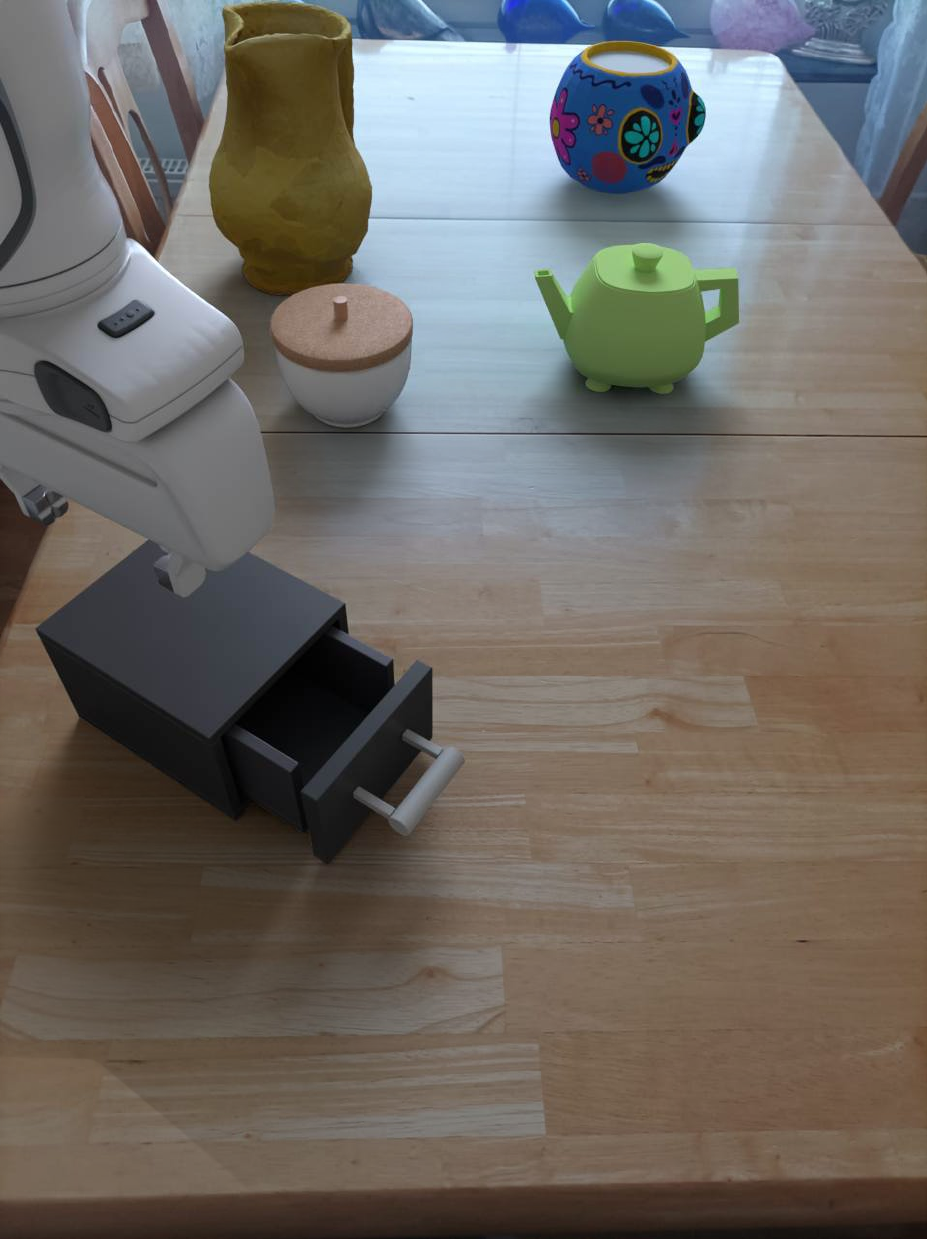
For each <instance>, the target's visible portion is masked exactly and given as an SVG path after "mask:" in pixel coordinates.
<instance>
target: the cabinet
mask: <svg viewBox="0 0 927 1239" xmlns="http://www.w3.org/2000/svg"><path fill="white" fill-rule="evenodd" d="M165 555H168V553H167V552H165V551H163V550H162V549H161V548H160V545H159V544H157V543H155V542H153V541H151V540H149V539H146V541H144V542H143V543H142V544H141V545H139V546H138V547H137V548H136V549H134V550H133V551H132V552H131V553H129V554H128V555H127V556H125V557H124V558H123V559H122V560H120V561H119V562H117V564H115V565H114V566H112V568H110V569H109V570H108V571H106V572H105V573H104V574H102V575H101V576H100V577H99V578H97V579H96V580H94V582H92V583H91V584H90V585H88V587H86V588H85V589H83V590H82V591H81V592H80V593H78V594H77V595H76V596H75V597H73V598H72V599H70V600H69V601H68V602H67V603H65V604H64V605H63V606H62V607H60V608H59V609H58V610H57V611H55V612H54V613H53V614H51V615H50V616H48V618H46V619H45V620H44V621H42V622H41V623H40V624H39V625H37V626H36V627H35V629H34V630H35V632H36V634H37V635H38V637H39V639H40V641H41V644H42V645H43V647H44V650H45V652H46V653H47V656H48V658H49V659H50V662H51V663H52V664H51V665H53V667H54V669H55V672H56V673H57V675H58V677H59V680H60V682H61V684H62V686H63V688H64V689H65V692H66V693H67V696H68V698H69V700H70V702H71V704H72V706H73V708H74V709H75V712H76V715H77V716H78V718H79V719H81V720H83V721H84V722H86V723H87V724H89V725H90V726H91V727H93V728H95V729H96V730H97V731H99V732H101V733H102V734H104V735H105V736H107V737H108V738H110V739H111V740H112V741H114V742H116V744H119V745H120V746H121V747H123V748H125V749H126V750H128V751H129V752H131V753H132V754H134V756H135V755H136V756H137V757H138V758H139V759H142V760H143V761H144V762H146V763H147V764H149V765H150V766H152V767H154V768H155V769H156V770H158V771H159V772H161V773H162V774H163V775H165V776H166V777H168V778H170V779H171V780H173V781H174V782H176V783H178V784H179V785H180V786H182V787H184V788H185V789H186V790H188V791H189V792H191V793H192V794H194V795H195V796H197V797H198V798H200V799H201V800H203V801H204V802H206V803H207V804H209V805H210V806H212V807H214V808H215V809H216V810H218V811H219V812H221V813H222V814H224V815H226V816H227V817H228V818H230V819H232V820H233V821H234V822H237V821H238V820H239V819H240V818H241V817H242V815H243V814H245V812H246V811H247V810H248V809H249V808H250V807H251V806H252V805H253V804H254V802H253V801H252V800H250V799H249V798H247V797H246V796H244V795H243V794H241V793H239V792H238V791H237V789H236V786H235V783H234V779H233V776H232V773H231V770H230V766H229V763H228V760H227V757H226V753H225V750H224V747H223V744H222V740H221V738H220V737H221V736H222V735H223V734H224V733H225V732H226V731H227V730H228V729H229V728H230V727H231V726H232V725H233V724H234V723H235V722H236V721H237V720H238V719H239V718H240V717H241V716H242V715H243V714H244V713H245V712H246V711H247V710H248V709H249V708H250V707H251V706H252V705H253V704H254V703H255V702H256V701H257V700H258V699H259V698H260V697H261V696H262V695H263V694H264V693H265V692H266V691H267V690H268V689H269V688H270V687H271V686H272V685H273V684H274V683H275V682H276V681H277V680H278V679H279V678H280V677H281V676H282V675H283V674H284V673H285V672H286V671H287V670H288V669H289V668H290V667H291V666H292V665H293V664H294V663H295V662H296V661H297V660H298V659H299V658H300V657H301V656H302V655H303V654H304V653H305V652H306V651H307V650H308V649H309V648H310V647H311V646H312V645H313V644H314V643H315V642H316V641H317V640H318V639H319V638H320V637H321V636H322V635H323V634H324V633H325V632H326V631H327V630H328V629H329V628H330V627H331V626H333V627H335V628H337V629H339V630H341V631H343V632H344V633H346V634H348V635H350V632H349V623H348V614H347V605H346V603H345V601H343V600H341V599H339V598H337V597H335V596H333V595H332V594H329V593H328V592H325V591H323V590H322V589H320V588H318V587H316V586H315V585H312V584H311V583H308V581H305V580H303V579H301V578H299V577H298V576H295V575H293V574H292V573H291V572H288V571H286V570H284V569H282V568H280V567H278V566H277V565H275V564H272V563H271V562H269V561H267V560H265V559H263V558H262V557H259V556H258V555H256V554H254V553H252V552H250V551H248V552H247V553H246V554H245V555H244V556H243V557H241V558H240V559H239V560H237V561H236V562H235V563H233V564H232V565H231V566H229V567H227V568H226V569H224V570H222V571H218V572H215V571H211V570H208V569H206V568H205V571H206V577H205V580H204V582H203V583H202V584H201V585H200V586H199V587H198V588H197V589H196V590H195V591H194V592H193V593H191V594H190V595H189V596H188V597H184V598H183V597H181V596H179V595H177V594H175V593H174V592H172V591H170V590H169V589H167V588H165V587H163V586H161V585H160V584H159V582H158V580H159V577H158V576H157V574H156V572H155V569H154V566H153V564H154V563H155V562H156V561H158V560H159V559H160V558H161V557H162V556H165Z"/></svg>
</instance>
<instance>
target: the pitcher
mask: <svg viewBox="0 0 927 1239" xmlns="http://www.w3.org/2000/svg"><path fill="white" fill-rule="evenodd" d="M221 16H222V20H223V24H224V41H225V42H224V44H223V52H224V55H225V56H224V68H225V86H226V92H227V96H226V112H225V121H224V124H223V131H222V134H221V138H220V141H219V145H218V147H217V148H216V151H215V154H214V156H213V158H212V162H211V166H210V170H209V175H208V190H209V196H210V207H211V211H212V212H211V213H212V217H213V221H214V223H215V227H217V229H218V230H219V232H220V233H221V234H222V236H223V237H224V238H225V239H227V240H228V242H230V243H231V244H232V245H234V246H235V247H236V248H237V250H238V253H239V256H240V257H241V258H242V260H243V262H242V264H241V267H242V271H241V272H242V273H243V274H244V276H245V279H246V281H247V283H248V284H250V285H251V286H252V287H254V288H256V290H259V291H261V292H263V293H267V294H270V295H271V296H275V295H276V296H283V295H285V296H286V295H290V296H292V295H294V294H296V293H298V292H300V291H303V290H306V289H309V288H312V287H317V286H321V285H328V284H339V283H344V281H346V279H348V278H349V277H350V276H351V275H350V274H351V273H352V270H353V269H354V268H353V263H354V259H353V256H354V255H356V254H357V253H358V251H359V249H360V248H361V245H362V243H363V241H364V239H365V237H366V235H367V234H368V231H369V219H370V214H371V207H372V202H373V186H372V182H371V180H370V175H369V172H368V168H367V166H366V163H365V161H364V159H363V157H362V155H361V153H360V151H359V149H358V148H357V146H356V142H355V138H354V126H355V106H354V105H355V96H354V94H355V93H354V92H355V90H354V82H355V65H354V59H353V44H354V42H353V33H352V27H351V23H350V22H349V20H348V19H347V17H346V16H345V15H343V14H340V13H339V12H335V11H333V10H331V9H328V8H326V7H324V6H321V5H316V4H311V3H307V2H297V1H283V0H268V1H260V0H259V1H258V0H257V1H251V2H241V3H236V4H231V5H229V4H228V5H224V6H222V13H221ZM349 279H350V278H349Z"/></svg>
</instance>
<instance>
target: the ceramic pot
mask: <svg viewBox="0 0 927 1239" xmlns="http://www.w3.org/2000/svg"><path fill="white" fill-rule="evenodd" d="M551 103H552V104H551V107H550V113H549V131H550V138H551V140H552V145H553V148H554V152H555V154H556V157H557V159H558V163H559V164H560V167H561V169H563V171H564V172H565V173H566V174H567V175H568V176H569V178H571V179H572V180H574V181H576V182H577V183H578V184H580V185H582V186H583V187H586V188H588V189H590V190H593V191H596V192H599V193H603V194H609V195H625V194H631V193H636V192H640V191H644V190H646V189H649V188H652V187H653V186H656V185H657V184H659V183H661V182H662V181H663V180H664V179H665V178H666V177H667V176H668V175H669V173H670V172H671V171H672V170H673V169H674V167H675V166H676V165H677V163H678V162H679V160H681V157H682V155H683V153H684V152H685V150H686V149H687V147H688V146H689V145H690V144H691V143H693V142H694V141H695V140H696V139H697V138H698V137H699V135H700V134H701V133H702V131H703V129H704V127H705V122H706V117H707V107H706V104H705V102H704V100H703V99H702V98H701V96H700V95H699V94H697V93H696V92H695V90H694V89H693V87H692V83H691V81H690V78H689V75H688V73H687V70H686V69H685V68H684V66H683V64H682V63H681V62H680V60H679V58H678V57H677V56H676V55H674V53H672V52H670V51H668V50H667V49H665V48H662V47H660V46H657V45H654V44H650V43H646V42H639V41H631V40H612V41H602V42H599V43H595V44H592V45H590V46H587V47H586V48H585V49H583V50H581V51H580V53H578V54H577V55H576V56H574V58H573V59H572V60H571V61H570V63H569V64H568V65H567V67H566V68H565V70H564V72H563V73H562V75H561V79H560V81H559V83H558V85H557V87H556V90H555V93H554V97H553V99H552V102H551Z"/></svg>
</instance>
